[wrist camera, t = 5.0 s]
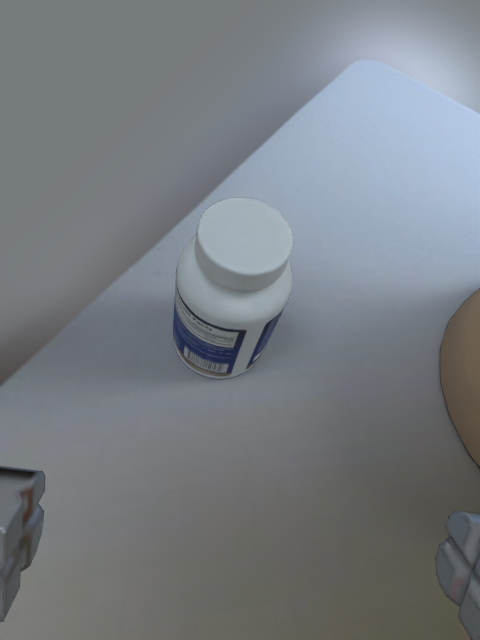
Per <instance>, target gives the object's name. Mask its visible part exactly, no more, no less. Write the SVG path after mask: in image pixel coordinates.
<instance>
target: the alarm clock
mask: <svg viewBox="0 0 480 640" xmlns="http://www.w3.org/2000/svg"><path fill="white" fill-rule="evenodd" d="M440 375H441V385H442V388H443V392H444V396H445V400H446V403H447V407H448V411H449V415H450V418H451V420H452V421H453V423H454V425H455V427H456V429H457V431H458V433H459V435H460V437H461V439H462V441H463V443H464V445H465V447H466V449H467V451H468V453H469V454H470V455H471V457H472V458H473V459H474V460H475V462H476V463H477V464H478V465H479V467H480V288H479V289H478V290H477V291H476V292H475V293H474V294H472V295H471V296H470V297H469V298H468V299H467V300H465V301H464V302H463V304H462V305H461V306H460V308H459V309H458V310H457V311H456V313H455V314H454V315H453V317H452V318H451V319H450V321H449V323H448V326H447V329H446V332H445V335H444V339H443V342H442V345H441V349H440Z"/></svg>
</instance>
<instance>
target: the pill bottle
mask: <svg viewBox="0 0 480 640" xmlns="http://www.w3.org/2000/svg"><path fill="white" fill-rule="evenodd" d="M292 248H293V234H292V231H291V228H290V226H289V224H288V222H287V221H286V219H285V218H284V217H283V216H282V215H281V214H280V213H279V212H278V211H277V210H275V209H274V208H273V207H271V206H270V205H268V204H266V203H264V202H261V201H259V200H255V199H251V198H244V197H234V198H227V199H224V200H221V201H218V202H216V203H215V204H213V205H211V206H210V207H209V208H208V209H207V210H206V211H205V212H204V213H203V214H202V216H201V218H200V220H199V223H198V226H197V232H196V235H195V236H194V237H193V238H192V239H191V240H190V241H189V242H188V243H187V244H186V246H185V247H184V249H183V250H182V252H181V255H180V257H179V260H178V264H177V270H176V286H175V304H174V320H173V339H174V345H175V348H176V350H177V353H178V355H179V357H180V358H181V359H182V361H183V362H184V363H185V364H186V365H187V366H188V367H189V368H190V369H192V370H193V371H195V372H197V373H199V374H201V375H203V376H206V377H210V378H215V379H226V378H231V377H235V376H237V375H240V374H242V373H244V372H246V371H247V370H249V369H250V368H251V367H252V366H253V365H254V364H255V363H256V362H257V361H258V359H259V358H260V356H261V354H262V352H263V351H264V349H265V347H266V344H267V342H268V340H269V338H270V336H271V334H272V332H273V330H274V328H275V325H276V323H277V321H278V319H279V317H280V316H281V313H282V311H283V309H284V307H285V305H286V303H287V300H288V298H289V295H290V292H291V287H292V271H291V266H290V263H289V257H290V255H291V252H292Z"/></svg>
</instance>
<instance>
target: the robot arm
mask: <svg viewBox="0 0 480 640" xmlns="http://www.w3.org/2000/svg"><path fill="white" fill-rule="evenodd" d="M44 492H45V474H44V472H43V471H37V470H29V469H20V468H12V467H3V466H0V622H4V619H5V617H6V615H7V613H8V611H9V609H10V607H11V605H12V603H13V601H14V599H15V597H16V594H17V592H18V590H19V588H20V576H21V572H22V571H23V570H25V569H26V568H28V567H29V566H30V565H31V563H32V560H33V558H34V556H35V554H36V551H37V548H38V544H39V541H40V538H41V534H42V528H43V520H44V510H43V509H42V507H41V506H40V505H39V501H40V499H41V498H42V496H43V494H44ZM445 528H446V530H447V532H448V535H449V537H448V538H447V539H445V540H444V541H443V542H442V543H441V544H439V547H438V550H437V554H436V557H435V565H436V575H437V578H438V581H439V585H440V586H441V588H442V590H443V592H444V594H445V595H446V597H448V598H449V599H450V600H451V601H453V602H454V603H455V604H456V605H458V606H459V613H458V618H459V620H460V621H461V623H462V625H463V626H464V628H465V630H466V632H467V633H468V635H469V637H470V638H471V640H480V513H477V512H465V511H453V513H452V514H451V515H450V516H449V517H448V520H447V523H446V526H445Z"/></svg>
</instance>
